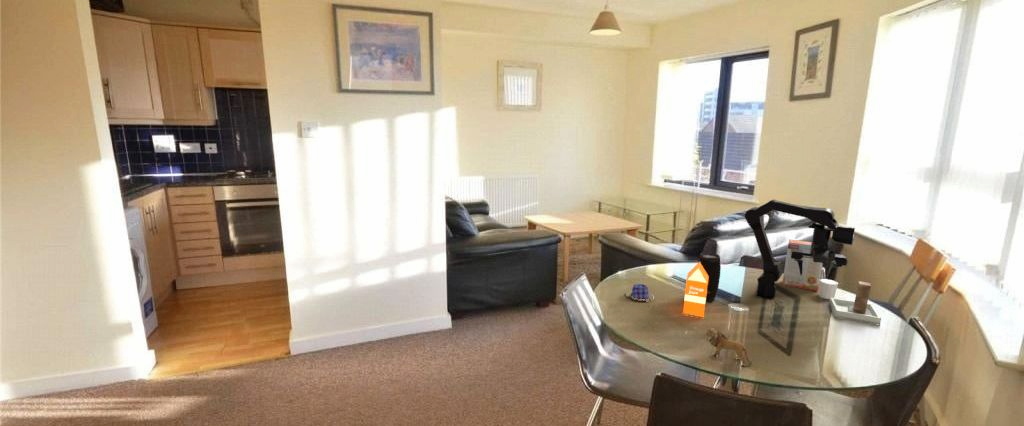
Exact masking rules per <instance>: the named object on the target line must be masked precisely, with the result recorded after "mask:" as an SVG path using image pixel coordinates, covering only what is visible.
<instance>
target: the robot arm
mask: <svg viewBox="0 0 1024 426" xmlns="http://www.w3.org/2000/svg"><path fill="white" fill-rule="evenodd" d="M772 211H777V212H780V213H784V214H789V215H794V216H797V217H798V216H799V217H802V218H805V219H808V220H809V221H811V222H812V223H810V224H809V225H808V229H809V228H810V229H813V233H812V237H811V238H812V239H811V242H812V243H811V249H810V253H804V252H803V251H802V250H799V249H791V251H790V257H791V258H792V259H794V260H795V261H797V262H798V266H799V271H800V275H802V265H803V260H802V258H803V257H806V258H813V261H814V262H816V263H818V262H819V263H823V265H824V264H829V263H828V262H829V261H830V264H829V267H828V271H827V275H826V279H830V278H831V276H832V275H833V274H834V272H835V271H836V270H837V269H838V268H842V267H843V266H846V267H847V266H848V258H847V257H846V256H845V255H844V254H837V253H836V251H831V250H829V245H830V240H832V241H834V243H836V244H843V245H849V246H853V243H854V239H855V229H856V227H854V226H853V227H852V226H841V225H839V222H838V221H837V219H836V218H835V213H834V211H833V210H832V209H831V208H829V207H828V208H827V207H809V206H804V205H800V204H799V205H798V204H794V203H791V202H784V201H779V200H777V199H771V200H768V202H766V203H763V204H762V205H760V206H759V207H757V206H753V207H751V208H749V209H748V210H747V211H745V214H744V219H745V220H746V221H745V222H746V223H747V225H748V226H749V227H750V228H751V230H753V234H754V237H755V240H756V243H757V247H758V250H759V253H760V255H761V258H762V265H763V266H762V271H763V272H762V273H761V274H760V275H759V277H758V278H757V286H756V290H755V296H756V297H758V298H763V299H769V300H774V298H775V297H776V290H777V287H776V282H777V281H779V279H780V278H781V277H782V275H783V272H784V269H783V267H782V262H781V261H780V260H779V261H777V260H776V259H775V256H774V255H773V251H772V247H771V245H770V243H769V239H768V235H767V232H766V230H765V218H764V215H766V214H768V213H770V212H772Z"/></svg>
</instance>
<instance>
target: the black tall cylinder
mask: <svg viewBox="0 0 1024 426" xmlns="http://www.w3.org/2000/svg"><path fill="white" fill-rule="evenodd" d="M699 262H700V263H701V265H702V266H703V268H704V270H705V271H706V273H707V275H708V276H709V278H708V285H707V294H706V301H709V302H710V301H711V302H710V303H713V302H712V301H714V302H715V299H716V297H717V293H718V289H719V286H720V285H719V284H720V277H721V270H722V269H721V257H720V255H719V254H717V253H715V252H711V253H705V252H701V253H700V254H699V258H698V261H697V264H698V263H699Z"/></svg>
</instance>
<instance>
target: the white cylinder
mask: <svg viewBox="0 0 1024 426" xmlns="http://www.w3.org/2000/svg"><path fill="white" fill-rule="evenodd" d="M838 286H839V282H838V281H836V280H832V279H830V278H829V279H827V278H820V279H819V288H818V291H817V293H818V294H817V295H818V297H820V298H822V299H827V300H830V298H835V296H836V292H837V289H838Z"/></svg>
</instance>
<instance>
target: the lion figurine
mask: <svg viewBox="0 0 1024 426" xmlns="http://www.w3.org/2000/svg"><path fill="white" fill-rule="evenodd" d="M704 335H705V338H706V341H707V342H708V343H710V345H711V346H712V347H715V348H716V352H717V353H716V354H717V355H718V356H719V357H720V356H721V351H722V349H723V350H725V351H729V352H735V354H736V356H735V357H734V359H735V358H737V359H739V360H741V363H743V364H746V363H748V362H751V361H750V360H749V357H748V351H747V348H746V346H745V345H744V344H743V343H742V342H740V341H736V340H731V339H728V338H727V336H726V335H725V334H723V332H721V331H720V330H718V329H716V328H714V327H713V328H712V327H709V328H707V329H706V332H705V334H704ZM743 353H744V354H745V357H744V355H743ZM737 359H736V360H737Z"/></svg>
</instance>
